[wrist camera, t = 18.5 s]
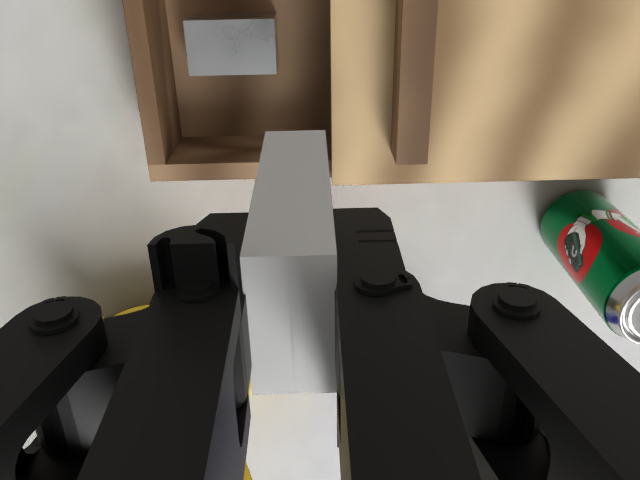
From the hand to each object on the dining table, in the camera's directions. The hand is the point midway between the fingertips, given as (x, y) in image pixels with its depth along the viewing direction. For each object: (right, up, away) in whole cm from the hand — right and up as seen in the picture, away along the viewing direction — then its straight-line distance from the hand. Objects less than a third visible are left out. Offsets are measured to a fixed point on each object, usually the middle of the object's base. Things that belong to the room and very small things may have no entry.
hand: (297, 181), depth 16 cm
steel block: (-4, +11, +21) cm, 24 cm away
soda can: (+19, 0, +28) cm, 34 cm away
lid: (+12, +9, +16) cm, 22 cm away
